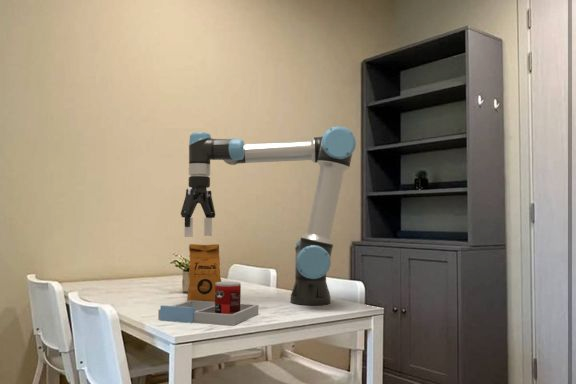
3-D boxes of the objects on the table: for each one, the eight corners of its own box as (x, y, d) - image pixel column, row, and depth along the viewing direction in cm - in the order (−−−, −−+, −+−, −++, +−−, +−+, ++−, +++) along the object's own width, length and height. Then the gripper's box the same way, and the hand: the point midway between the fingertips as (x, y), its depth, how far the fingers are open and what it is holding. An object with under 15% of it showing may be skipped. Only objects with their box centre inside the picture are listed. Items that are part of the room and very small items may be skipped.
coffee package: (221, 308, 181) (222, 244, 182) (185, 308, 180) (186, 244, 181) (222, 303, 191) (223, 243, 192) (188, 303, 190) (189, 243, 191)
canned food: (215, 315, 166) (215, 281, 167) (240, 315, 167) (240, 281, 168) (213, 320, 159) (214, 284, 159) (240, 320, 159) (240, 284, 160)
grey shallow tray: (258, 314, 170) (258, 300, 171) (232, 326, 151) (232, 310, 151) (189, 309, 178) (190, 296, 178) (157, 320, 158) (157, 305, 159)
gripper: (207, 179, 198) (206, 235, 197) (170, 173, 175) (169, 237, 174) (224, 178, 195) (224, 235, 194) (190, 173, 172) (189, 237, 171)
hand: (198, 236), depth 184 cm, fingers open, 13 cm apart
